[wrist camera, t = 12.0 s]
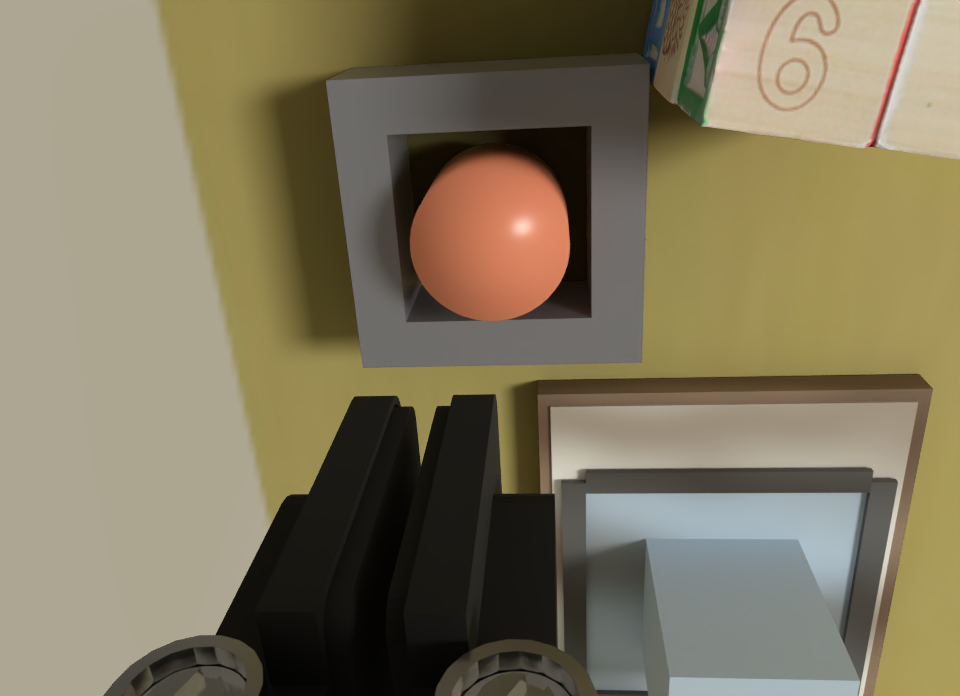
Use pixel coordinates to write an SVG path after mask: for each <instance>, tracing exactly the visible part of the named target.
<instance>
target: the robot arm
mask: <svg viewBox="0 0 960 696" xmlns="http://www.w3.org/2000/svg"><path fill="white" fill-rule="evenodd" d="M104 696H598V695H597V692H596V690H595V687H594V685H593V683H592V681H591V678H590V676H589V674H588V672H587V671H586V670H585V669H584V668H583V667H582V666H581V665H580V664H579V663H578V662H577V661H576V660H575V659H574V658H573V657H572V656H570V655H568V654H567V653H565V652H563V651H561V650H560V649H558V620H557V562H556V516H555V494H502V486H501V467H500V449H499V431H498V413H497V401H496V395H495V394H491V395H453V397H452V401H451V406H437V408H436V411H435V415H434V419H433V423H432V427H431V430H430V434H429V438H428V442H427V446H426V450H425V454H424V457H423V461H422V465H421V463H420V454H419V444H418V434H417V425H416V416H415V411H414V408H413V407H401V405H400V401H399V398H398V397H397V396H357V397H354V398H353V400H352V401H351V404H350V406H349V408H348V410H347V412H346V414H345V417H344V419H343V421H342V423H341V425H340V427H339V430H338V432H337V434H336V436H335V438H334V440H333V443H332V445H331V447H330V449H329V451H328V453H327V456H326V458H325V460H324V462H323V464H322V466H321V469H320V471H319V473H318V475H317V477H316V479H315V482H314V484H313V486H312V488H311V490H310V492H309V494H293V495H290V496H287V497H286V498H285V500H284V501H283V503H282V504H281V506H280V508H279V510H278V512H277V514H276V516H275V518H274V520H273V522H272V524H271V526H270V528H269V530H268V532H267V534H266V536H265V538H264V540H263V542H262V544H261V546H260V548H259V550H258V552H257V554H256V556H255V558H254V560H253V562H252V564H251V566H250V568H249V570H248V572H247V574H246V576H245V578H244V579H243V581H242V583H241V586H240V588H239V589H238V591H237V593H236V596H235V598H234V599H233V602H232V604H231V605H230V607H229V609H228V611H227V613H226V615H225V617H224V619H223V621H222V623H221V625H220V627H219V629H218V631H217V633H216V635H212V636H211V635H202V636H201V635H200V636H195V637H190V638H186V639H182V640H177V641H174V642H172V643H170V644H167V645H165V646H163V647H160V648H158V649H156V650H153V651H151V652H150V653H148V654H147V655H146V656H144V657H142V658H141V659H139V660H138V661H137V662H135V663H134V664H132V665H131V666H130V667H129V668H128V669H127V670H126V671H125V672H124V673H123V674H122V675H121V676H120V677H119V678H118V679H117V680H116V681H115V682H114V683H113V684H112V686H111V687H110V688H109V689H108V691H107V692H106V693H105V694H104Z"/></svg>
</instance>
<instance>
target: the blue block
mask: <svg viewBox="0 0 960 696" xmlns="http://www.w3.org/2000/svg"><path fill="white" fill-rule="evenodd" d="M642 654H643V662H644V669H645V676H646V683H647V691H648V696H858V690H859V685H860V679H859V677H858V675H857V672H856V670H855V668H854V665H853V663H852V661H851V659H850V656H849V654H848V652H847V650H846V647H845V645H844V643H843V640H842V638H841V636H840V634H839V631H838V629H837V627H836V625H835V622H834V620H833V618H832V616H831V613H830V611H829V609H828V606H827V604H826V602H825V600H824V597H823V595H822V593H821V591H820V588H819V586H818V584H817V581H816V579H815V577H814V575H813V572H812V570H811V568H810V566H809V563H808V561H807V559H806V556H805V554H804V552H803V550H802V547H801V545H800V543H799V541H798V539H646V552H645V579H644V606H643V633H642Z"/></svg>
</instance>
